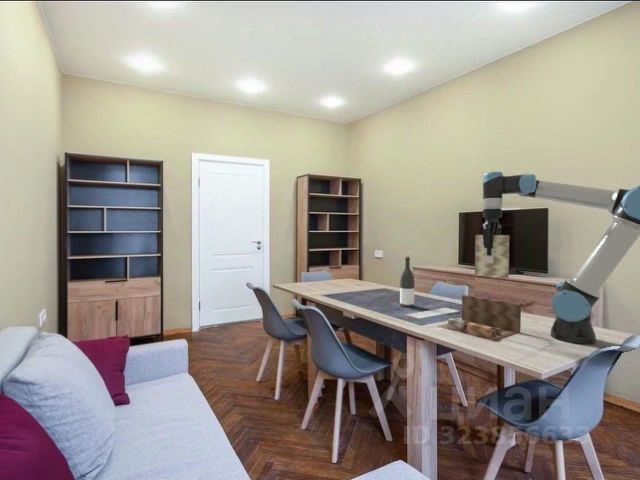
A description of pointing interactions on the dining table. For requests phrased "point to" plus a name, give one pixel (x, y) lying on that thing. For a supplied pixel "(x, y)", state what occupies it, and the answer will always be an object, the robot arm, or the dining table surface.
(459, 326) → the grey mdf offcut
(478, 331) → the cherry offcut
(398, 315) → the dining table surface
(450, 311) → the baseboard molding
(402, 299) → the wine bottle
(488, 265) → the birch sheet
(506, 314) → the walnut rack
